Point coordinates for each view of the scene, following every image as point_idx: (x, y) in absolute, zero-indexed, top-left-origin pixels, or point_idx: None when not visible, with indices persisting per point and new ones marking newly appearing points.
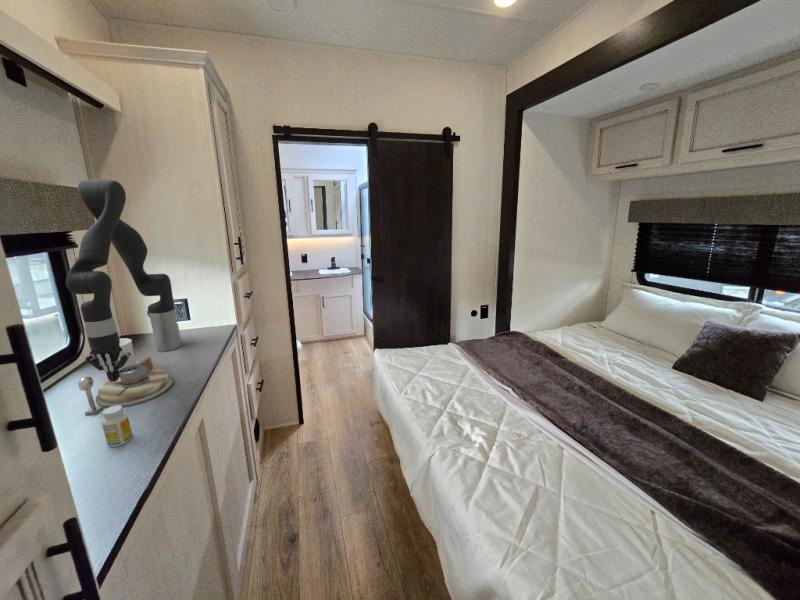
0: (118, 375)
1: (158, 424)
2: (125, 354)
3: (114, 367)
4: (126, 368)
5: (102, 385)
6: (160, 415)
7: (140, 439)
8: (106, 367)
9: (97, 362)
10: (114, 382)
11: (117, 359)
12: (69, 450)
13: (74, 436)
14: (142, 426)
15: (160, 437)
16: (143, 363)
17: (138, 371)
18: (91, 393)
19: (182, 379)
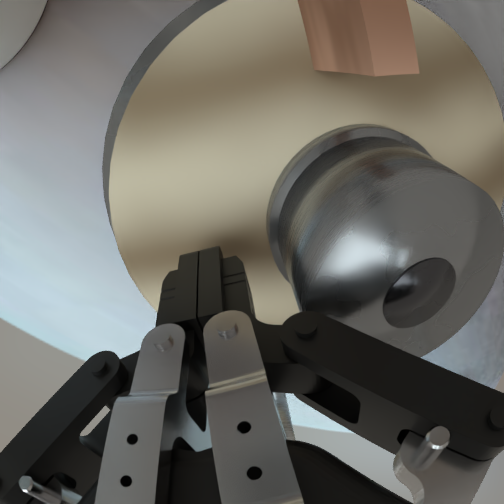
0: (247, 282)
1: (490, 339)
2: (481, 466)
3: (271, 385)
4: (356, 301)
5: (142, 291)
6: (490, 316)
7: (467, 376)
8: (205, 418)
9: (97, 462)
10: (185, 244)
11: (278, 416)
12: (348, 431)
13: (319, 418)
14: (462, 355)
15: (496, 359)
16: (398, 73)
17: (475, 306)
18: (294, 436)
19: (491, 58)
